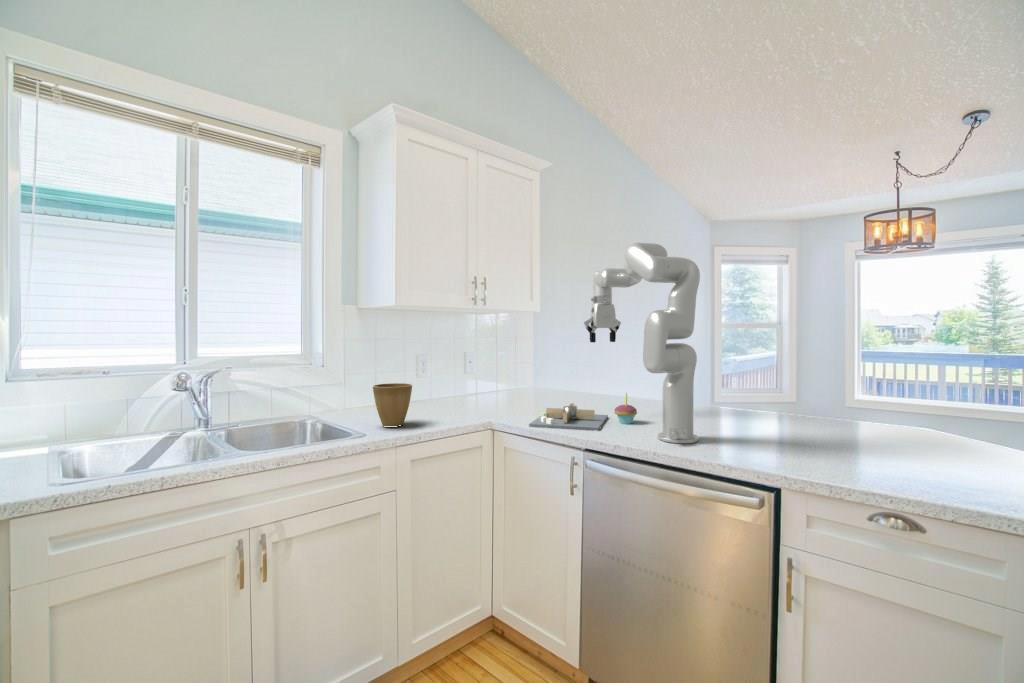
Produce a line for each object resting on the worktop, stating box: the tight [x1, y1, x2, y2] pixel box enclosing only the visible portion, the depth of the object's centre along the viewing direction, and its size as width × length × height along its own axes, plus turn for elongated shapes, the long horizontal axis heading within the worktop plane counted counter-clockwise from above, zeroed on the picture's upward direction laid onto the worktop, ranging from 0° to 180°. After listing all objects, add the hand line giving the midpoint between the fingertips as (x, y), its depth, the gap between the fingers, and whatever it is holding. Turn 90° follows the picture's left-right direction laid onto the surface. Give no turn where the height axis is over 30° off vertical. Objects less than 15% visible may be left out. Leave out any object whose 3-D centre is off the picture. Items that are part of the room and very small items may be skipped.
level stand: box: [528, 411, 609, 431], centre depth 185 cm, size 26×26×3 cm
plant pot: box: [372, 382, 413, 427], centre depth 181 cm, size 15×15×16 cm
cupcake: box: [614, 392, 638, 425], centre depth 181 cm, size 9×8×12 cm
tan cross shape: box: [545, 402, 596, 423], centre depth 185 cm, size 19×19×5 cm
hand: (602, 342), depth 195 cm, fingers open, 9 cm apart
